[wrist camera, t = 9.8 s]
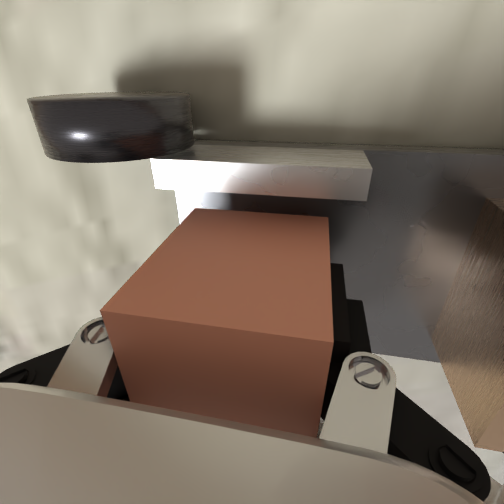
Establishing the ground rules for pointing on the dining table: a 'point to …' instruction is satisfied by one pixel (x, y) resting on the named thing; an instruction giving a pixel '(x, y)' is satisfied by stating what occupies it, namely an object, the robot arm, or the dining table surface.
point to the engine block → (230, 320)
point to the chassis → (340, 223)
